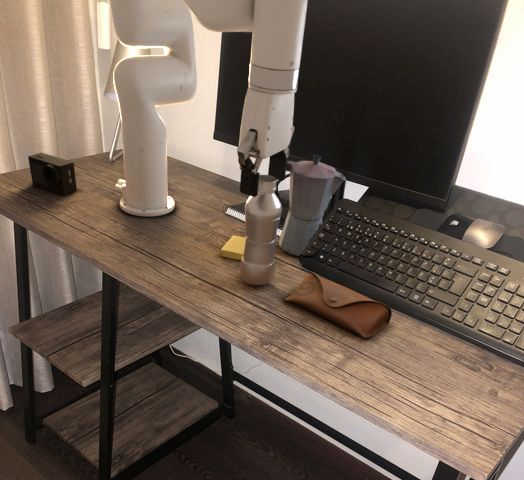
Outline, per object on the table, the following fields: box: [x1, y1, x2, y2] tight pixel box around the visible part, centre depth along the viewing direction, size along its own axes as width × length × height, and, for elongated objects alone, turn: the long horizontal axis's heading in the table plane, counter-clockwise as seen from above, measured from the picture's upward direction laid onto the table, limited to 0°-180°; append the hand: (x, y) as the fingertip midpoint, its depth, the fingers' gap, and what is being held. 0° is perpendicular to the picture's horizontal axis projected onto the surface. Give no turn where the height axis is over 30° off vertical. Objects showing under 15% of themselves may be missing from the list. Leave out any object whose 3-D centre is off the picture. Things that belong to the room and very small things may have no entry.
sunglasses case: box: [284, 271, 393, 339], centre depth 99 cm, size 18×7×7 cm, turn 52°
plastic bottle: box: [239, 174, 283, 286], centre depth 100 cm, size 6×7×20 cm
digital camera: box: [27, 152, 78, 196], centre depth 132 cm, size 10×5×7 cm, turn 61°
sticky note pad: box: [220, 235, 246, 261], centre depth 115 cm, size 8×8×2 cm
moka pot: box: [275, 154, 347, 257], centre depth 113 cm, size 10×15×20 cm, turn 78°
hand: (262, 186), depth 95 cm, fingers open, 9 cm apart
